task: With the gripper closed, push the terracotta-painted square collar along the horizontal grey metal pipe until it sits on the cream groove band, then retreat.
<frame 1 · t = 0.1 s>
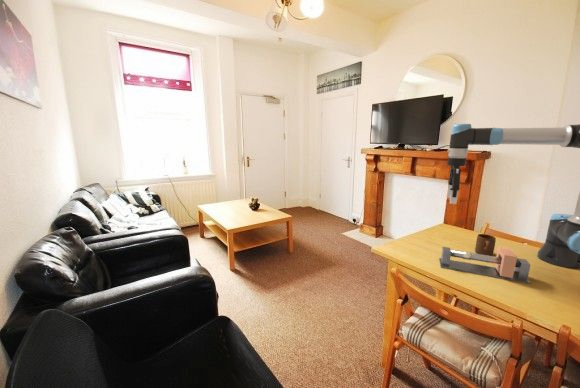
hand: (451, 200, 128), 28 cm above the table, fingers open, 13 cm apart
collar: (505, 261, 111), point 6 cm above the table, slide at 0.0 cm
pipe rig: (480, 270, 116), on the table
mug: (484, 255, 131), on the table
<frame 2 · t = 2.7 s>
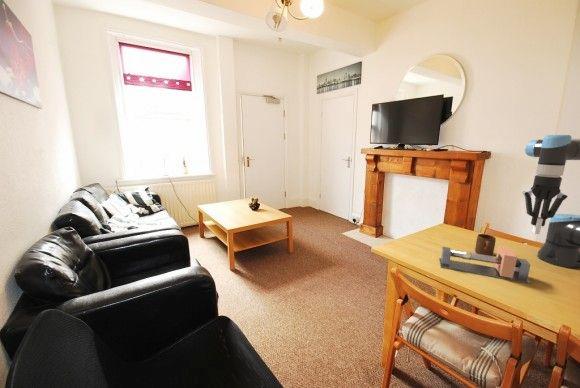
hand: (535, 232, 105), 21 cm above the table, fingers closed
nothing on the table moved.
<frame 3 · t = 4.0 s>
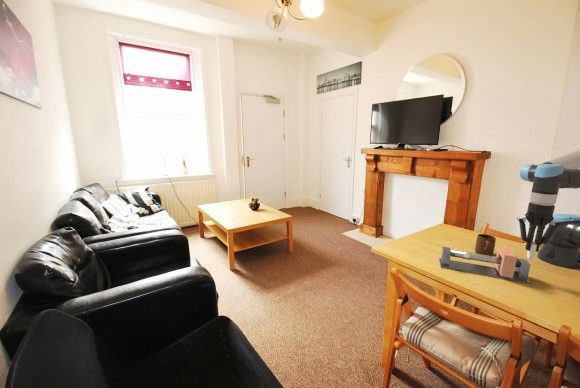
hand: (529, 257, 107), 9 cm above the table, fingers closed
nothing on the table moved.
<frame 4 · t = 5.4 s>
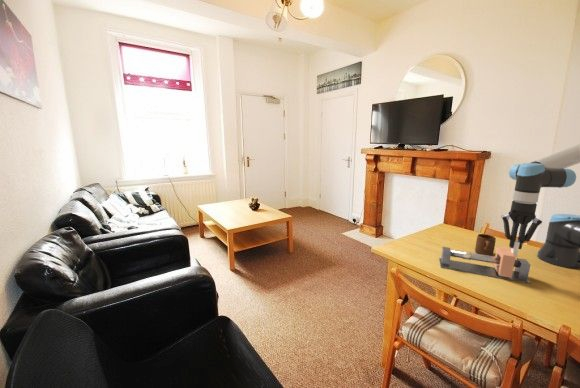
hand: (513, 255, 110), 10 cm above the table, fingers closed
collar: (503, 261, 112), point 6 cm above the table, slide at 0.4 cm, touching gripper
everything else where it was.
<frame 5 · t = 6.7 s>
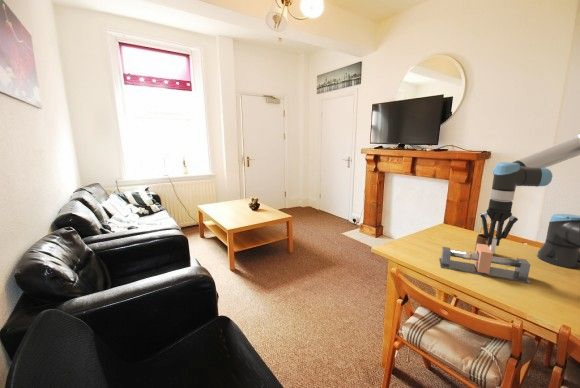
hand: (491, 251, 113), 10 cm above the table, fingers closed
collar: (482, 258, 115), point 6 cm above the table, slide at 8.0 cm, touching gripper
everything else where it was.
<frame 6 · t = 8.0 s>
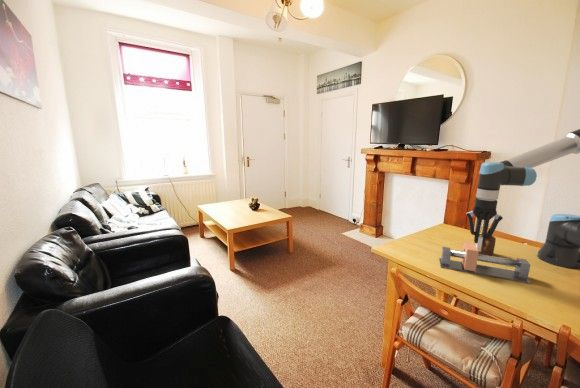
hand: (477, 250, 115), 9 cm above the table, fingers closed
collar: (469, 255, 117), point 6 cm above the table, slide at 13.0 cm, touching gripper
everything else where it was.
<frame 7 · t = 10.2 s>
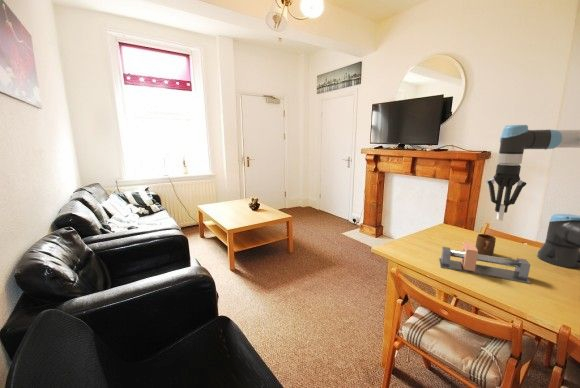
hand: (499, 219, 110), 24 cm above the table, fingers closed
collar: (468, 255, 117), point 6 cm above the table, slide at 13.2 cm
everything else where it was.
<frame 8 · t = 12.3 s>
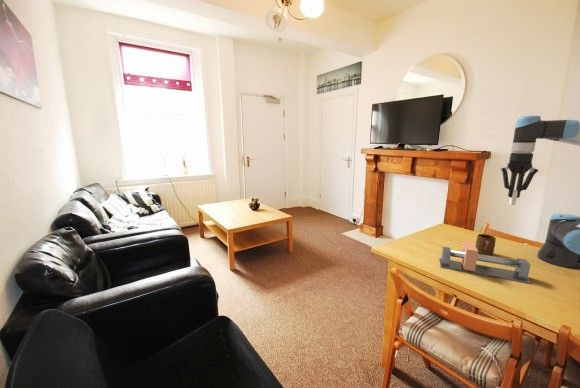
hand: (512, 204, 118), 28 cm above the table, fingers closed
nothing on the table moved.
at the end: collar slide at 13.2 cm; collar touching nothing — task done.
